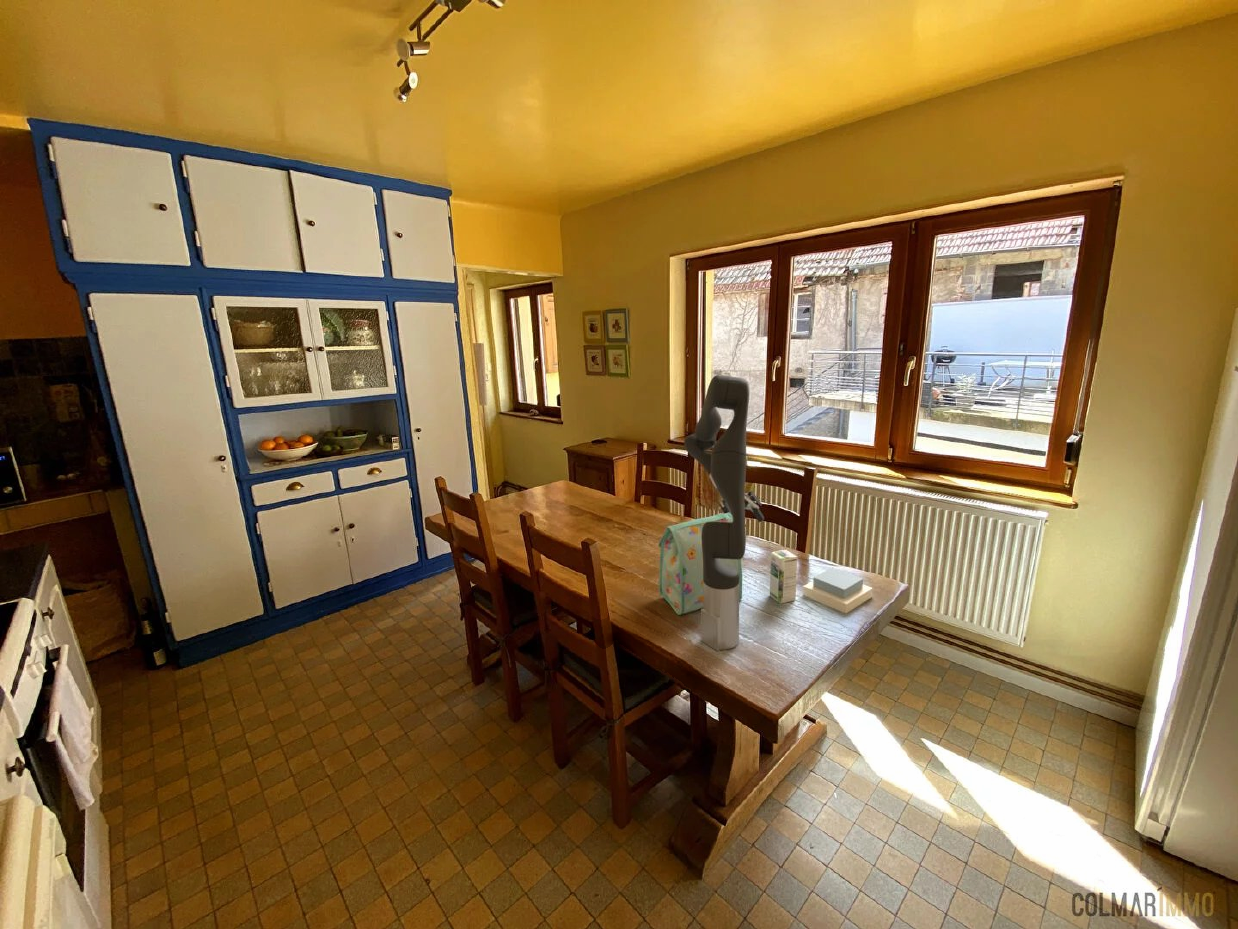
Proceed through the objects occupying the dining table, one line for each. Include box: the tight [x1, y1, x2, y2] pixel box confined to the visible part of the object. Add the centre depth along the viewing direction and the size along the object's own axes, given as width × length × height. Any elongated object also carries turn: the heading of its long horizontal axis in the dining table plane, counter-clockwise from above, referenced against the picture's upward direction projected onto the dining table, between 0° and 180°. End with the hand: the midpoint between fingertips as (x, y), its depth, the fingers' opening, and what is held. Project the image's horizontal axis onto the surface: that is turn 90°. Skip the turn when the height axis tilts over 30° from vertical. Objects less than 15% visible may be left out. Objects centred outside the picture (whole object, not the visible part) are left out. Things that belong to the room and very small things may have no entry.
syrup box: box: [769, 549, 798, 604], centre depth 152 cm, size 6×6×14 cm
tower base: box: [802, 567, 873, 614], centre depth 152 cm, size 14×14×6 cm
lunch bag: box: [657, 512, 743, 616], centre depth 153 cm, size 23×16×27 cm
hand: (753, 524), depth 158 cm, fingers open, 8 cm apart
